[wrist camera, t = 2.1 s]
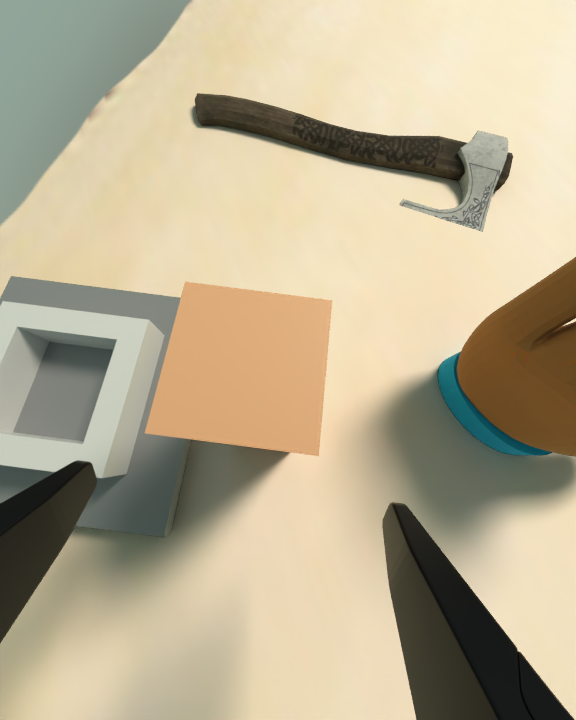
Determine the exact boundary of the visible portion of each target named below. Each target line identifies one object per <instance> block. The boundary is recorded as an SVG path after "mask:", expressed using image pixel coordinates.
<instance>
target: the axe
mask: <svg viewBox="0 0 576 720" xmlns="http://www.w3.org/2000/svg"><path fill="white" fill-rule="evenodd" d="M195 105H196V113H197V116H198V119H199V121H200V123H201V125H202V126H223V127H228V128H234V129H240V130H244V131H248V132H252V133H256V134H260V135H264V136H268V137H271V138H275V139H278V140H281V141H285V142H288V143H291V144H295V145H298V146H301V147H304V148H307V149H311V150H314V151H317V152H320V153H324V154H327V155H331V156H334V157H337V158H341V159H344V160H349V161H354V162H360V163H366V164H371V165H377V166H383V167H389V168H394V169H400V170H406V171H412V172H419V173H426V174H430V175H435V176H440V177H445V178H450V179H454V180H459V184H460V187H461V190H462V203H461V204H460V205H459V206H457V207H456V208H453V209H445V210H438V209H434V208H431V207H427V206H424V205H421V204H417V203H414V202H411V201H408V200H404V199H403V200H402V201H401V203H400V205H401V206H404V207H407V208H410V209H413V210H416V211H419V212H422V213H425V214H429V215H432V216H435V217H438V218H440V219H444V220H447V221H450V222H453V223H457V224H460V225H463V226H466V227H469V228H473V229H476V230H479V231H482V232H483V229H484V224H485V220H486V216H487V212H488V208H489V205H490V201H491V198H492V195H493V192H494V189H496V190H498V189H499V188H500V187H501V186H502V185H503V184H504V183H505V181H506V180H507V178H508V176H509V172H510V168H511V163H512V159H513V155H512V153H508V140H507V138H506V137H502V136H498V135H494V134H490V133H486V132H483V131H479V130H478V131H477V133H476V134H475V136H474V137H473V138H472V140H471V141H470V142H469V143H465V142H461V141H457V140H453V139H448V138H444V137H440V136H388V135H381V134H374V133H367V132H360V131H354V130H351V129H347V128H343V127H339V126H335V125H331V124H328V123H325V122H322V121H319V120H316V119H313V118H310V117H307V116H304V115H302V114H298V113H295V112H292V111H288V110H285V109H282V108H279V107H275V106H271V105H267V104H264V103H260V102H256V101H252V100H248V99H243V98H237V97H232V96H226V95H212V94H198V93H197V96H196V98H195Z"/></svg>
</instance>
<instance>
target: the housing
mask: <svg viewBox="0 0 576 720" xmlns="http://www.w3.org/2000/svg"><path fill="white" fill-rule="evenodd" d="M180 299H181V298H178V297H170V296H162V295H154V294H146V293H139V292H131V291H123V290H115V289H107V288H100V287H92V286H84V285H76V284H68V283H60V282H53V281H45V280H37V279H29V278H21V277H14V276H11V277H10V280H9V282H8V284H7V286H6V288H5V290H4V292H3V294H2V296H1V298H0V503H2V502H3V501H5V500H7V499H9V498H10V497H12V496H14V495H16V494H17V493H19V492H21V491H23V490H24V489H26V488H28V487H30V486H31V485H33V484H35V483H37V482H38V481H40V480H42V479H44V478H46V477H47V476H49V475H51V474H53V473H54V472H56V471H58V470H60V469H61V468H63V467H65V466H67V465H68V464H70V463H72V462H74V461H77V460H80V461H88V462H91V463H92V465H93V468H94V471H95V474H96V478H97V485H96V488H95V490H94V492H93V494H92V495H91V497H90V499H89V501H88V503H87V505H86V507H85V509H84V510H83V512H82V514H81V516H80V518H79V520H78V522H77V524H76V525H75V526H80V527H88V528H96V529H103V530H111V531H118V532H126V533H134V534H141V535H149V536H157V537H165V536H166V535H167V534H169V533H170V532H171V530H172V525H173V521H174V516H175V512H176V507H177V502H178V498H179V493H180V489H181V484H182V479H183V475H184V470H185V466H186V461H187V456H188V452H189V447H190V443H191V439H185V438H177V437H169V436H161V435H154V434H146V433H145V430H146V426H147V423H148V419H149V415H150V411H151V408H152V404H153V400H154V396H155V393H156V389H157V385H158V381H159V378H160V374H161V370H162V366H163V363H164V359H165V355H166V351H167V348H168V344H169V340H170V337H171V333H172V329H173V325H174V322H175V318H176V314H177V310H178V307H179V303H180Z"/></svg>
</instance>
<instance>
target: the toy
mask: <svg viewBox="0 0 576 720" xmlns="http://www.w3.org/2000/svg"><path fill="white" fill-rule="evenodd" d="M575 318H576V257H575V258H574V259H572V260H571V261H569V262H568V263H566V264H565V265H563V266H562V267H561V268H559V269H558V270H556V271H555V272H553V273H552V274H550V275H549V276H547V277H546V278H544V279H543V280H541V281H540V282H538V283H537V284H535V285H534V286H532V287H531V288H529V289H528V290H526V291H525V292H523V293H522V294H520V295H519V296H517V297H516V298H514V299H513V300H511V301H510V302H508V303H507V304H505V305H504V306H502V307H501V308H499V309H497V310H496V311H495V312H493V313H492V314H490V315H489V316H488V317H487V318H486V319H485V320H484V321H483V322H482V323H481V324H480V325H479V326H478V327H477V328H476V329H475V331H474V332H473V333H472V334H471V336H470V337H469V339H468V340H467V342H466V343H465V345H464V347H463V349H462V351H461V352H459V353H457V354H455V355H453V356H451V357H450V358H448V359H446V360H445V361H443V363H442V364H441V365H440V368H439V372H438V381H439V386H440V390H441V393H442V395H443V397H444V400H445V402H446V403H447V405H448V407H449V409H450V410H451V411H452V413H453V414H454V416H455V417H456V418H457V420H458V421H459V422H460V423H461V424H462V425H463V426H464V427H465V428H466V429H467V430H468V431H469V432H470V433H471V434H472V435H473V436H474V437H476V438H477V439H478V440H480V441H481V442H482V443H484V444H485V445H487V446H489V447H491V448H493V449H495V450H497V451H499V452H502V453H506V454H510V455H538V456H541V455H548V454H550V453H552V452H554V453H559V454H564V455H570V456H576V322H573V323H571V324H568V325H565V326H562V325H564V324H566V323H568V322H570V321H571V320H573V319H575Z"/></svg>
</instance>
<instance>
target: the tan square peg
mask: <svg viewBox="0 0 576 720" xmlns="http://www.w3.org/2000/svg"><path fill="white" fill-rule="evenodd" d="M331 307H332V301H331V300H324V299H316V298H308V297H300V296H292V295H284V294H277V293H269V292H261V291H253V290H245V289H238V288H230V287H222V286H214V285H206V284H198V283H191V282H185V284H184V288H183V292H182V295H181V299H180V303H179V307H178V310H177V314H176V318H175V322H174V325H173V329H172V333H171V337H170V340H169V344H168V348H167V351H166V355H165V359H164V363H163V366H162V370H161V374H160V378H159V381H158V385H157V389H156V393H155V396H154V400H153V404H152V408H151V411H150V415H149V419H148V423H147V426H146V430H145V433H146V434H154V435H161V436H169V437H177V438H185V439H192V440H200V441H208V442H215V443H223V444H231V445H239V446H246V447H254V448H262V449H269V450H277V451H285V452H292V453H300V454H308V455H316V456H319V446H320V434H321V422H322V411H323V399H324V388H325V376H326V365H327V353H328V342H329V330H330V319H331Z"/></svg>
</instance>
